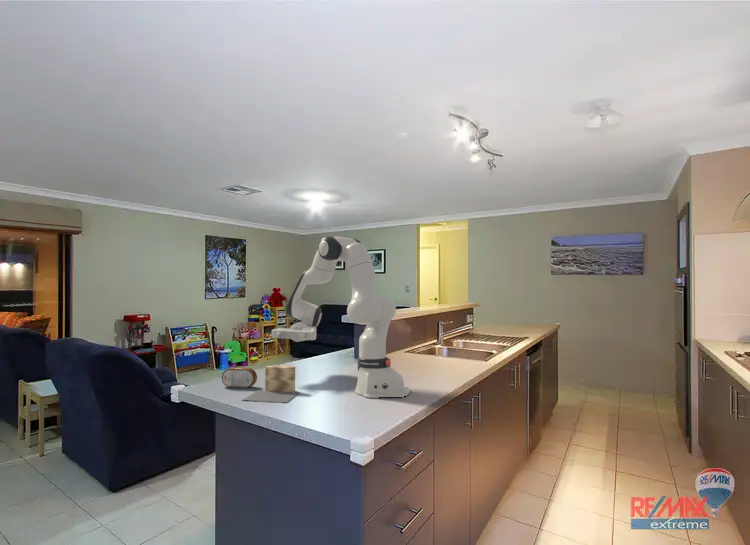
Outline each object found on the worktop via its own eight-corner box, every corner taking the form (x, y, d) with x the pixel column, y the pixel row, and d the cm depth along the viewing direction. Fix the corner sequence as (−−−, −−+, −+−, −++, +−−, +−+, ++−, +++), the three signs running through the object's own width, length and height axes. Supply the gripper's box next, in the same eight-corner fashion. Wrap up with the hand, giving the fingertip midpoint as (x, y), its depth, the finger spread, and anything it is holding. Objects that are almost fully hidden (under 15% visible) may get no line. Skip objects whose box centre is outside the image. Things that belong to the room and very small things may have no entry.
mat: (299, 393, 151) (299, 392, 151) (287, 403, 138) (287, 402, 138) (257, 391, 154) (257, 390, 154) (241, 400, 141) (241, 399, 141)
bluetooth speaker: (257, 386, 161) (257, 367, 161) (254, 388, 158) (254, 368, 158) (224, 385, 163) (224, 366, 163) (220, 387, 160) (220, 368, 160)
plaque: (295, 390, 155) (295, 366, 155) (292, 392, 152) (293, 368, 153) (268, 389, 157) (268, 365, 157) (265, 391, 154) (265, 367, 154)
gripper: (278, 324, 179) (266, 328, 165) (319, 326, 176) (310, 330, 163) (277, 337, 179) (265, 342, 165) (318, 339, 176) (310, 345, 163)
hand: (288, 336), depth 164 cm, fingers open, 8 cm apart
